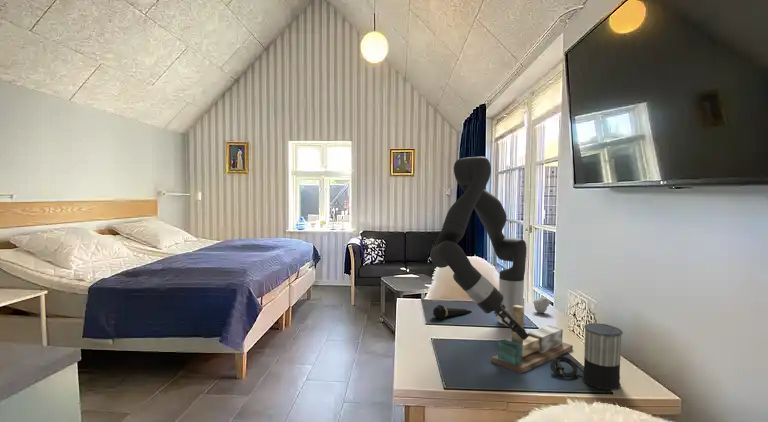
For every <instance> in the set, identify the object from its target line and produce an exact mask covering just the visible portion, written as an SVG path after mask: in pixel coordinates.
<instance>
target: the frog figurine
mask: <svg viewBox="0 0 768 422" xmlns="http://www.w3.org/2000/svg"><path fill="white" fill-rule="evenodd" d="M532 303H533V304H534V309H535V312H537V313H540V314H543V313H546V312H547V308H548V307H549V306H550V304H551V300H550V299H549V298H548V297H546V296H540V297H539V298H536V299H534V300H533V301H532Z"/></svg>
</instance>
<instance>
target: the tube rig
mask: <svg viewBox="0 0 768 422" xmlns="http://www.w3.org/2000/svg"><path fill="white" fill-rule="evenodd" d="M563 332H564V329H562V328H559V327H556V326H552V325H546V326H543V327H540V328H538V329H534V330H532V331H529V332H527V334H528V335H529V336H531V335H532V336H535V337H539V338H541V349H540V350H538V351H536V352H533V353H531V354H528V355H526V356H524V357H522V344H520V343H517V342H514V341H512V339H508V338H502V339H499V340H497V354H496V355H493V356H491V363H493V364H495V365H499V366H501V367H504V368H506V369H509V370H511V371H514V372H516V373H518V374H523V373H526V372H527V371H531V370H532V369H534V368H537V367H538V366H540V365H543V364H545V363H547V362H549V361H552V360H553V359H554V358H556V357H561V356H562V355H564V354H567V353H569V352H571V351H573V350H574V348H573V347H574V346H573V344H570V343H566V342H563ZM529 336H528V337H529Z"/></svg>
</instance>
